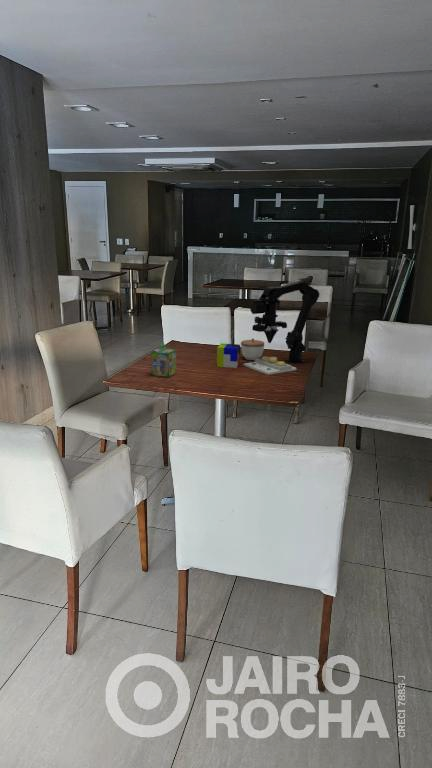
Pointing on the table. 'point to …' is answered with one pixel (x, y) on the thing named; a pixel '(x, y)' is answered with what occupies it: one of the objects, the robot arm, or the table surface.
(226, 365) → the puzzle toy
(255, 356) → the lidded bowl
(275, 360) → the button mid
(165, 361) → the green patterned box
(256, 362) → the board
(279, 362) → the button
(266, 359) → the button
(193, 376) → the table surface
